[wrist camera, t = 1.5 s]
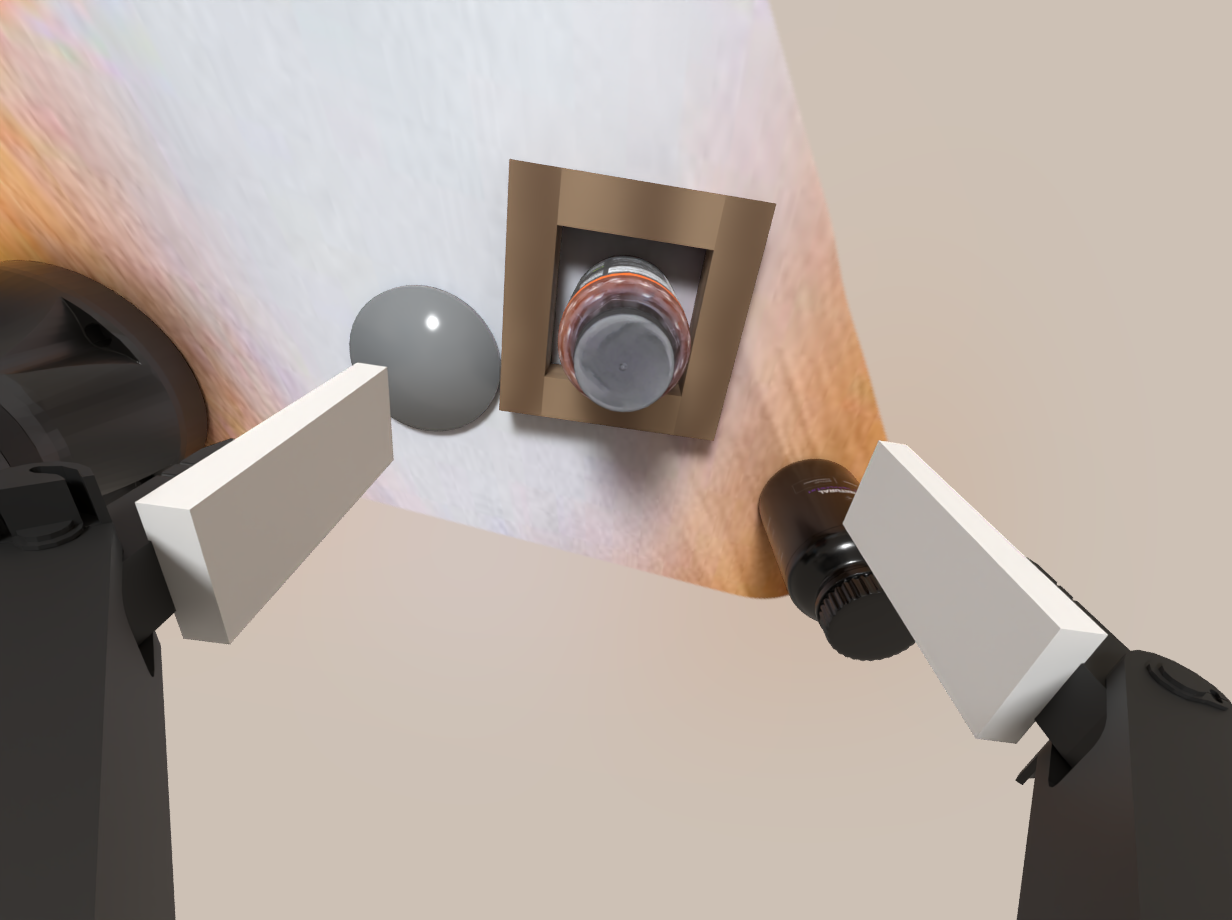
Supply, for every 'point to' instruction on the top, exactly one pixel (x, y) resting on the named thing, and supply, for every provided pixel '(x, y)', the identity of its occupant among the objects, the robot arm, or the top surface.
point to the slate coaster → (429, 355)
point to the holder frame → (640, 212)
